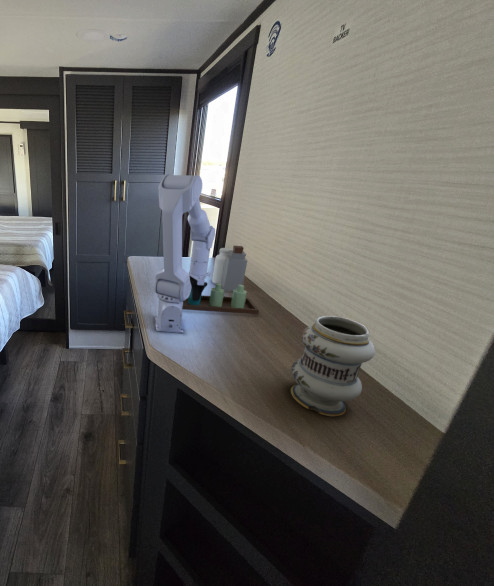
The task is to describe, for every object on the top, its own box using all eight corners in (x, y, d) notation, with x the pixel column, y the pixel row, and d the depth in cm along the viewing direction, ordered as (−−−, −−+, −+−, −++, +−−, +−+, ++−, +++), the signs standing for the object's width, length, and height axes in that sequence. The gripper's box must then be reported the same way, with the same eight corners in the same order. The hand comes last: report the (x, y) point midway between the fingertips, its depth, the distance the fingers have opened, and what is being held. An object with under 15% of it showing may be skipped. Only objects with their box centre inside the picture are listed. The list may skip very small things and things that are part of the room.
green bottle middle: (223, 308, 108) (226, 286, 106) (210, 307, 109) (213, 286, 106) (220, 303, 112) (223, 282, 110) (207, 302, 113) (210, 281, 110)
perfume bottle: (241, 293, 125) (249, 249, 118) (223, 291, 126) (230, 248, 119) (237, 287, 131) (245, 245, 124) (221, 286, 132) (228, 244, 125)
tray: (257, 316, 105) (258, 310, 104) (179, 311, 107) (180, 305, 107) (247, 303, 115) (248, 298, 114) (176, 299, 117) (177, 293, 116)
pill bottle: (207, 281, 138) (212, 247, 132) (221, 279, 141) (226, 246, 135) (221, 286, 131) (226, 252, 126) (235, 284, 134) (241, 250, 129)
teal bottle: (201, 306, 109) (204, 284, 106) (188, 305, 110) (191, 283, 107) (199, 301, 113) (202, 280, 110) (186, 300, 114) (189, 279, 111)
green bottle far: (245, 309, 108) (249, 288, 105) (232, 308, 108) (236, 287, 105) (241, 304, 112) (245, 283, 109) (229, 303, 112) (232, 283, 109)
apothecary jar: (282, 404, 65) (304, 327, 58) (287, 375, 74) (307, 306, 68) (354, 430, 59) (388, 347, 52) (350, 395, 68) (378, 321, 61)
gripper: (216, 267, 98) (210, 306, 103) (207, 255, 112) (202, 291, 117) (193, 266, 99) (188, 305, 104) (187, 254, 113) (183, 289, 118)
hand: (194, 297), depth 111 cm, fingers closed on teal bottle, 4 cm apart
